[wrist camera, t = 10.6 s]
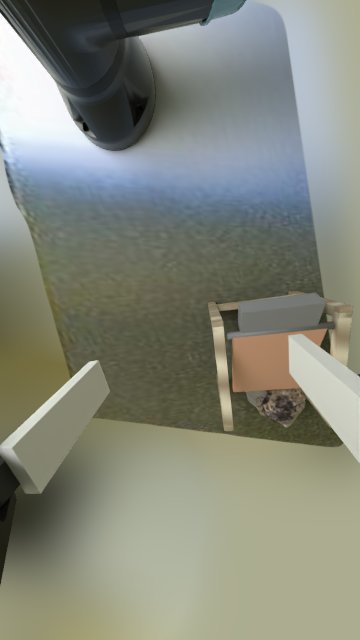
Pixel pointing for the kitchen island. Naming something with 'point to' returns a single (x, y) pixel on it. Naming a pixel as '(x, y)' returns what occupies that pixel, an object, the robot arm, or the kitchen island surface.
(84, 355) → the kitchen island surface
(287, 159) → the kitchen island surface
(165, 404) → the kitchen island surface
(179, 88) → the kitchen island surface
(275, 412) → the rock
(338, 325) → the frame
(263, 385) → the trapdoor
